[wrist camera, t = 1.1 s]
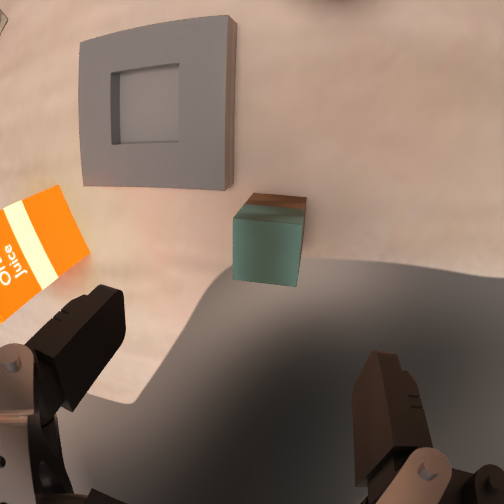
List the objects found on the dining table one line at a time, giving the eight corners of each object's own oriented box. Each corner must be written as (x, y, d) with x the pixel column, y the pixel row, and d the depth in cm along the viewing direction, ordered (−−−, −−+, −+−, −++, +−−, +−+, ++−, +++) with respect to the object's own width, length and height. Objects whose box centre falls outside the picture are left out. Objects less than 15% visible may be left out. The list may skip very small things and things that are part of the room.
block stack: (306, 197, 27) (302, 225, 20) (302, 246, 29) (296, 286, 22) (253, 193, 27) (232, 218, 21) (252, 241, 29) (232, 279, 23)
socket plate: (236, 23, 21) (228, 15, 19) (233, 183, 27) (224, 190, 25) (97, 45, 24) (80, 42, 21) (99, 179, 30) (83, 186, 27)
